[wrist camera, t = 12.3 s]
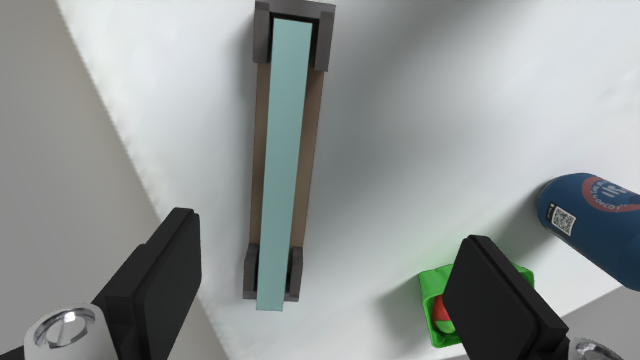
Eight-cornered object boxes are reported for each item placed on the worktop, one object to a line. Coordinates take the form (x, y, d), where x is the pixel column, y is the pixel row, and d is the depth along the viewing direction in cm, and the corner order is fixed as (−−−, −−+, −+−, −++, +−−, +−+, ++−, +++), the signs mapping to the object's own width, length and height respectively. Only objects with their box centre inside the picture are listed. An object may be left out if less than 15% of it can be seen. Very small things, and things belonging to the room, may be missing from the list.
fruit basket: (503, 239, 36) (586, 317, 25) (508, 297, 39) (583, 386, 29) (405, 266, 37) (447, 354, 26) (419, 321, 40) (460, 417, 30)
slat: (280, 24, 25) (274, 18, 20) (309, 28, 26) (312, 23, 20) (263, 267, 34) (256, 310, 29) (285, 269, 35) (282, 311, 29)
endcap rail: (330, 11, 26) (335, 4, 22) (298, 276, 36) (298, 301, 32) (262, 0, 25) (255, -8, 22) (248, 272, 36) (242, 298, 32)
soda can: (603, 167, 33) (755, 227, 22) (583, 225, 36) (710, 304, 25) (538, 169, 33) (660, 231, 22) (523, 227, 35) (624, 309, 24)
